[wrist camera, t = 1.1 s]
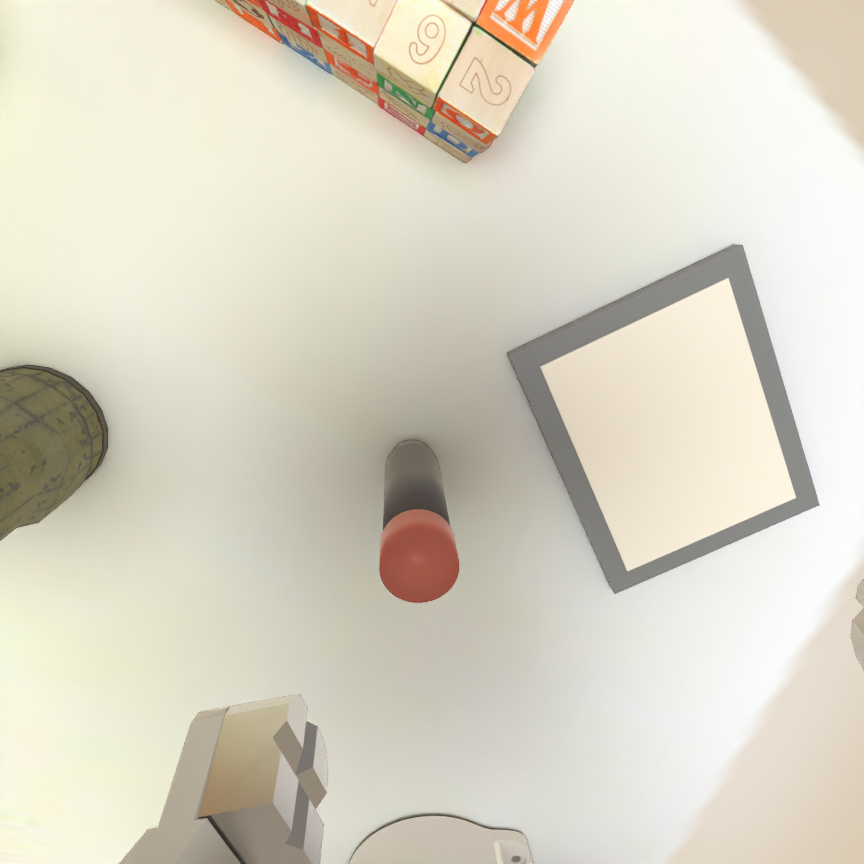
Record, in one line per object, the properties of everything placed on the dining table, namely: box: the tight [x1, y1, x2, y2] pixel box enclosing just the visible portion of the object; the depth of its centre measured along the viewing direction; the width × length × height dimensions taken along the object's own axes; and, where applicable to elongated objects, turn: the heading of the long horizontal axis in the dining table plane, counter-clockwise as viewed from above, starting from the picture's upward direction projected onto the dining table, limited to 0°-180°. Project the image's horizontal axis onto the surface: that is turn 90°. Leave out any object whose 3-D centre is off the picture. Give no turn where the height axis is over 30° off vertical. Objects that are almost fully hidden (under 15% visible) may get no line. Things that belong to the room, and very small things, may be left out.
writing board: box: [507, 244, 819, 594], centre depth 43 cm, size 20×16×1 cm
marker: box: [380, 440, 459, 603], centre depth 37 cm, size 4×4×14 cm
